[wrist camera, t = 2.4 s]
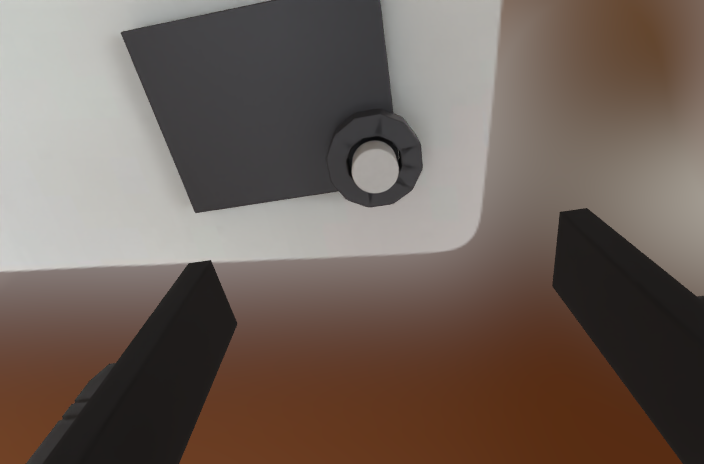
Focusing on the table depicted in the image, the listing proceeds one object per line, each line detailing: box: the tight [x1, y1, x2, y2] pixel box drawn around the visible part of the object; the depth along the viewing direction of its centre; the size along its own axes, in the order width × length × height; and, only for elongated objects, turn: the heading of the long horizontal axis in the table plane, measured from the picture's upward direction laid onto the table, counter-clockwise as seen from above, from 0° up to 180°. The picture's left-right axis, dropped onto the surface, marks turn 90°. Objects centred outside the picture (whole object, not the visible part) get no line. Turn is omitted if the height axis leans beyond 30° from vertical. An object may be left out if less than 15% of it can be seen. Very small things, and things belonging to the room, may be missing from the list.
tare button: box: [352, 140, 399, 193], centre depth 21 cm, size 3×3×2 cm
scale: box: [121, 0, 423, 213], centre depth 22 cm, size 15×12×3 cm
